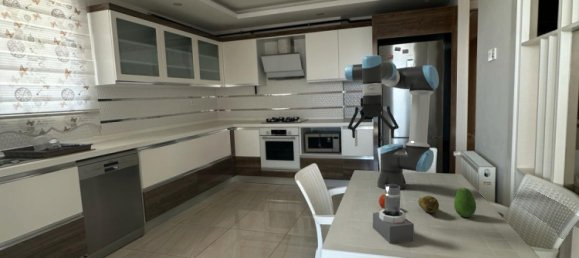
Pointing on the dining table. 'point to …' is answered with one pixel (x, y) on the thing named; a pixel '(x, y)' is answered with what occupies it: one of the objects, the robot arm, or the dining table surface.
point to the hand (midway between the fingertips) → (372, 145)
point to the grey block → (393, 227)
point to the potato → (429, 203)
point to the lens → (392, 200)
